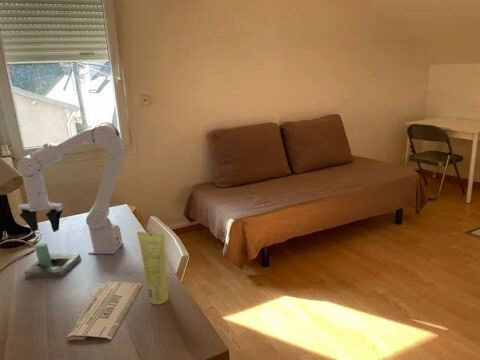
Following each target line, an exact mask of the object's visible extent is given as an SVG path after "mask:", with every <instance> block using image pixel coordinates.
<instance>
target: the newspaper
mask: <svg viewBox="0 0 480 360" xmlns="http://www.w3.org/2000/svg"><path fill="white" fill-rule="evenodd" d="M142 285H143V284H141V283H138V282H126V281H109V282H107V283H105V284H104V285H100V286H99V287H98V289H97V290H96V292H95V293H94V295H93V296H92V297H91V299H90V300H89V302H88V304H87V305H86V307H85V308H84V310H83V311H82V313H81V315H80V317H79V318H78V320H77V322H76V323H75V325H74V326H73V328H72V329H71V330H70V332H69V333H68V335H67V336H66V340H68V341H73V340H80V341H82V340H86V339H87V337H95V338H102V339H103V338H105V339H108V340H110V341H112V339H113V338H114V336H115V335H116V332H117V330H118V329H119V327H120V325H121V324H122V322H123V320H124V319H125V317H126V315H127V313H128V311H129V310H130V308H131V306H132V305H133V302H134V301H135V299H136V298H135V297H137V296H138V295H139V293H140V291H141V289H142V287H143V286H142ZM141 286H142V287H141ZM140 288H141V289H140ZM139 290H140V291H139ZM131 304H132V305H131Z"/></svg>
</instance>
